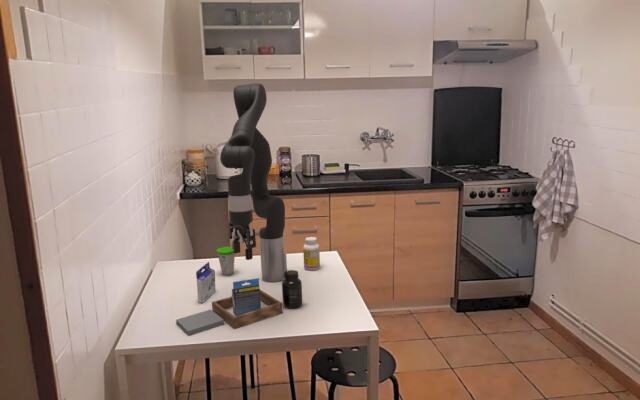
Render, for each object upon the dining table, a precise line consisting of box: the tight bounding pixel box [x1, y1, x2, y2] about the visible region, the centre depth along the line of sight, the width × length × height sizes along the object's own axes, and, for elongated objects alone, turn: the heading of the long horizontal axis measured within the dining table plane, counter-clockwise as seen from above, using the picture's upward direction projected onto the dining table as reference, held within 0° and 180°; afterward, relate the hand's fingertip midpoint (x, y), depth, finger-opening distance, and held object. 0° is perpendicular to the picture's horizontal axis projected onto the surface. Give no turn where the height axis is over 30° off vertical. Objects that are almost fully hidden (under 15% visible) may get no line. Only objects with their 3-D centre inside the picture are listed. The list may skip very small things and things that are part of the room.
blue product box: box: [231, 277, 262, 316], centre depth 169 cm, size 9×4×12 cm, turn 108°
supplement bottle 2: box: [302, 236, 321, 271], centre depth 208 cm, size 7×7×13 cm
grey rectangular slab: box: [175, 308, 225, 336], centre depth 162 cm, size 12×10×2 cm
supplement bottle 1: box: [281, 269, 303, 310], centre depth 173 cm, size 7×7×12 cm
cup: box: [215, 241, 236, 277], centre depth 204 cm, size 8×8×15 cm
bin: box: [211, 289, 284, 330], centre depth 170 cm, size 18×16×4 cm
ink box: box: [195, 261, 216, 304], centre depth 183 cm, size 12×2×12 cm, turn 168°
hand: (242, 256), depth 166 cm, fingers open, 8 cm apart
